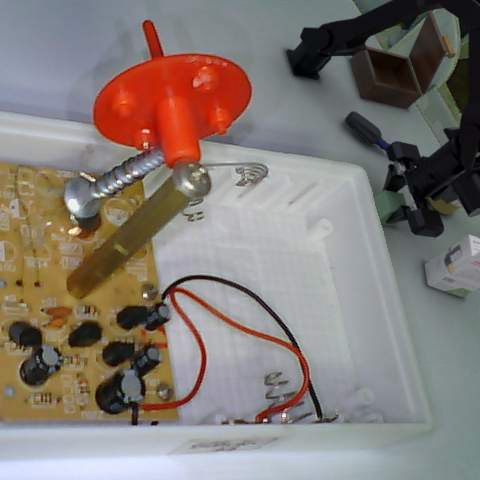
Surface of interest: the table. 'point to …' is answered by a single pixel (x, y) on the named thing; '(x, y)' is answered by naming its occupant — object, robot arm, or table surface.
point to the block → (388, 205)
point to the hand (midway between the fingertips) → (384, 211)
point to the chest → (385, 77)
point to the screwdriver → (365, 130)
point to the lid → (429, 52)
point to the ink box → (456, 268)
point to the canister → (447, 208)
